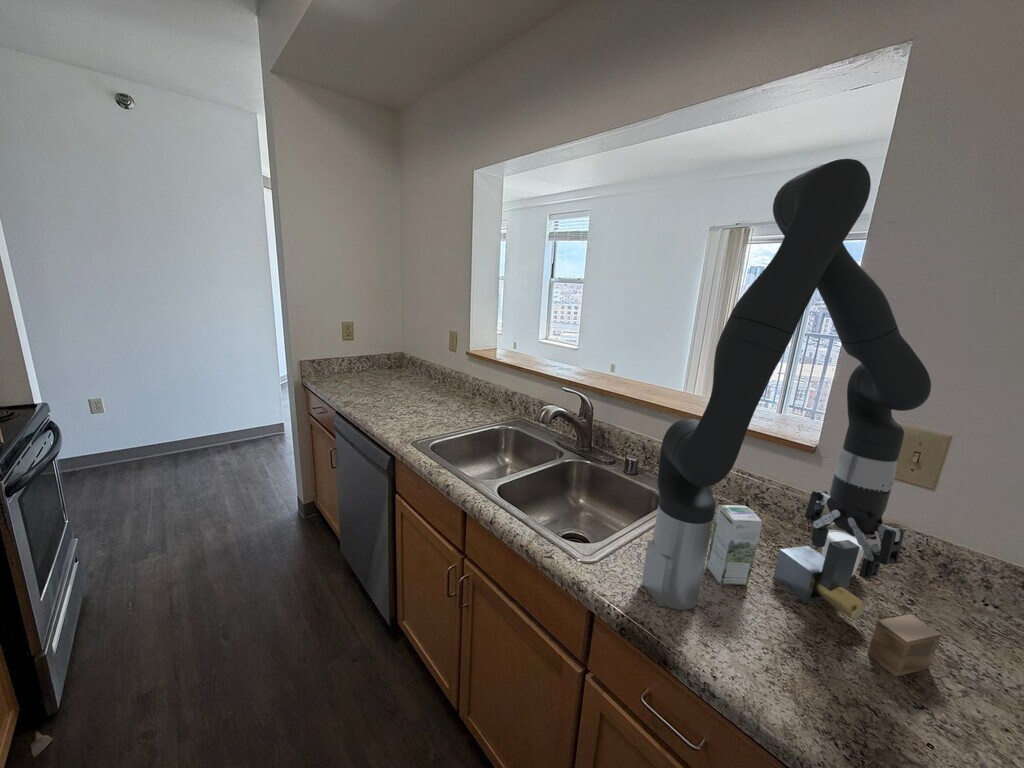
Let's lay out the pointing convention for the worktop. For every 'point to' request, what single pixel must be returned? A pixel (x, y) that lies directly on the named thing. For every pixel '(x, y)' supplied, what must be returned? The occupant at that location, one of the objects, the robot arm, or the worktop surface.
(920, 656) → the socket block
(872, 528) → the robot arm
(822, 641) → the worktop surface
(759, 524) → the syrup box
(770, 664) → the worktop surface
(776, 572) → the block
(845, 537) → the shot glass
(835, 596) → the slide bolt
